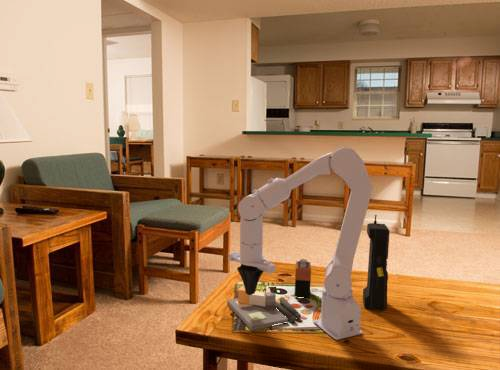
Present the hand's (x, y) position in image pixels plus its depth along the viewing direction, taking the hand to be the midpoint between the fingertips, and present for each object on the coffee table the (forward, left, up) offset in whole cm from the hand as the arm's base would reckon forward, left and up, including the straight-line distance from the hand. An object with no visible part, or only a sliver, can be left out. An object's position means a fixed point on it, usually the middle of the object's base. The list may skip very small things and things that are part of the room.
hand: (250, 293), depth 101 cm
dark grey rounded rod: (-1, -11, -6) cm, 13 cm away
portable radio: (-7, -35, -6) cm, 36 cm away
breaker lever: (+3, -4, -4) cm, 6 cm away
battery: (+7, -20, -6) cm, 22 cm away
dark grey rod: (0, -9, -6) cm, 11 cm away
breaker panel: (+1, -2, -6) cm, 6 cm away
